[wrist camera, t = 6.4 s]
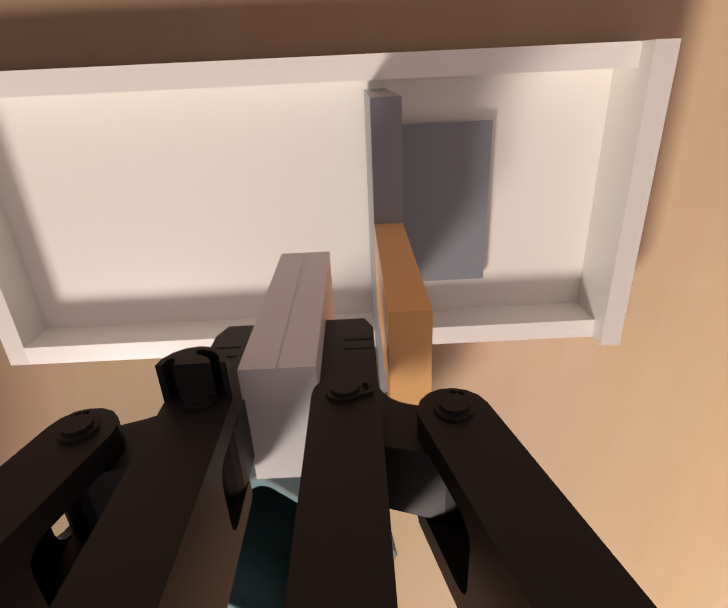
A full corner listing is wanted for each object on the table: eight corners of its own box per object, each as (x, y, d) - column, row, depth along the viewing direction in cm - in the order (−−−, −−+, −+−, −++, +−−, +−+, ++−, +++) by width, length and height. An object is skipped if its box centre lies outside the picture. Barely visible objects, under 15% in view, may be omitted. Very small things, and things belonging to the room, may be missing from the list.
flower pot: (389, 437, 33) (402, 557, 25) (308, 512, 36) (296, 642, 28) (282, 366, 30) (257, 473, 22) (204, 453, 33) (156, 577, 25)
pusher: (372, 308, 28) (393, 537, 14) (363, 89, 23) (383, 115, 9) (479, 302, 28) (605, 526, 14) (493, 82, 23) (703, 100, 9)
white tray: (42, 337, 29) (-1, 375, 25) (-53, 75, 23) (-128, 76, 20) (586, 310, 29) (619, 344, 26) (630, 43, 23) (681, 37, 20)
